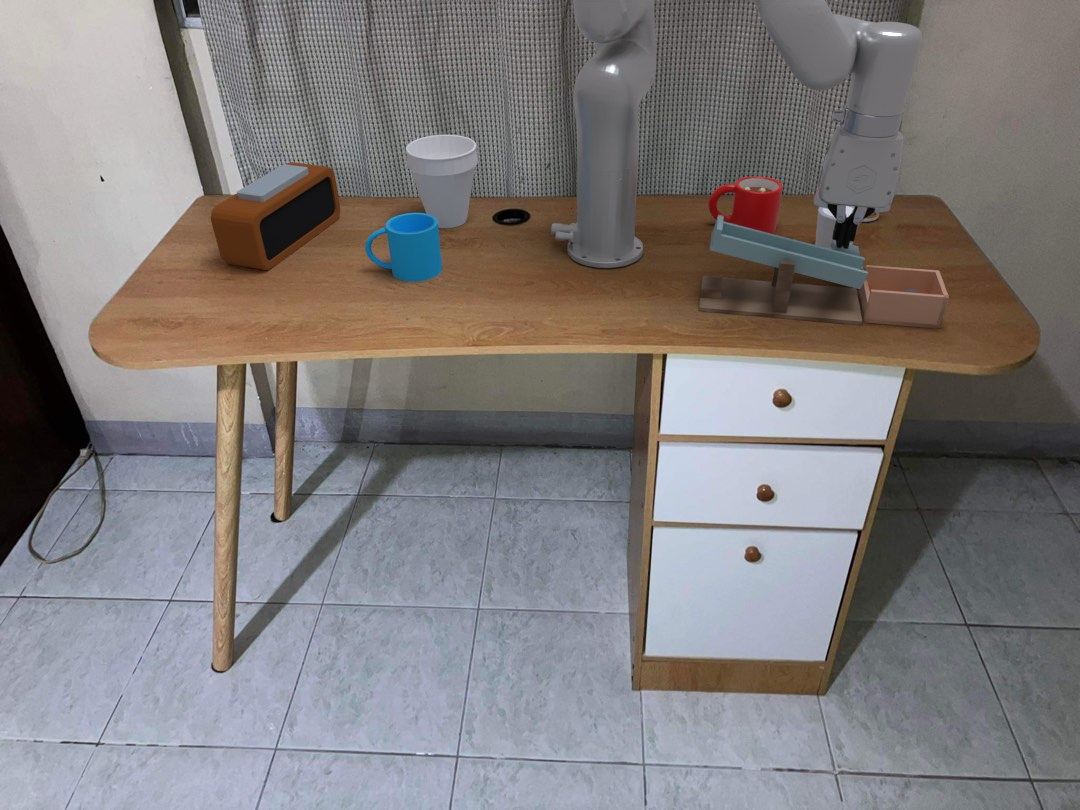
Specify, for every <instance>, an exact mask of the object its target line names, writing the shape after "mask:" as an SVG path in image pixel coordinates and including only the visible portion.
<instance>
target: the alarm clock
mask: <svg viewBox="0 0 1080 810" xmlns="http://www.w3.org/2000/svg"><path fill="white" fill-rule="evenodd" d="M337 187H338V186H337V181H336V175H335V172H334V170H333V168H331V167H330V166H324V165H319V164H318V165H317V164H308V163H301V162H293V161H290V162H288V163H285V164H281V165H280V166H278V167H275V169H273V170H271V171H270V172H268V173H266V174H265V175H263V176H260V177H259V178H257V179H256V180H254V181H253V182H251V183H249V184H247V185H246V186H244V187H242V188H241V189H239V190H237V191H236V193H235V194H234V195H231V196H230V197H228V198H227V199H225V200H223V201H222V202H219V203H218V204H216V205H215V206H214V207H213V209H212V210H211V213H210V214H211V215H210V221H211V226H212V229H213V233H214V236H215V237H214V238H215V242H216V243H217V245H216V246H217V249H218V252H219V256H220V258H221V260H222V261H223V262H224V263H226V264H229V265H233V266H239V267H245V268H251V269H255V270H256V269H257V270H263V271H270V270H272V269H274V268H275V267H276V266H277V265H279V264H281V263H282V262H283V261H285V260H286V259H287V258H288V257H290V256H291V255H292V254H294V253H295V252H297V251H298V250H299V249H301V248H302V247H304V246H305V245H306V244H308V243H309V242H310V241H311V240H314V238H316V237H317V236H319V235H320V234H321V233H322V232H324V231H325V230H327V228H329V227H330V226H332V225H333V224H335V223H336V222H337V221H338V220H339V218H340V216H341V205H340V199H339V191H338V188H337Z"/></svg>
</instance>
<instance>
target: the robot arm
mask: <svg viewBox="0 0 1080 810" xmlns="http://www.w3.org/2000/svg"><path fill="white" fill-rule="evenodd" d="M752 1H753V3H754V5H755V8H756V10H757V12H758V14H759V16H760V18H761V20H762V23H763V24H764V26H765V29H766V31H767V32H768V34H769V36H770V39H771V40H772V42H773V43H774V46H775V47H776V49H777V51H778V52H779V54H780V55H781V56H782V59H783V60H784V62H785V63H786V65H787V67H788V69H789V70H790V72H791V73H792V74H793V76H794V77H795V78H796V79H797V81H798V82H799V83H801V85H803V86H804V87H806V88H808V89H810V90H813V91H828V90H831V89H833V88H836V87H837V86H839V85H840V84H842V83H843V82H844V81H845V80H846V79H847V77H848V76H849V75H850V76H851V80H850V84H849V88H848V94H847V98H846V103H845V104H844V107H842V109H839V110H833V112H832V114H831V115H832V116H831V121H833V122H837V123H839V125H838V126H837V127H836V128H835V130H834V132H833V135H832V136H831V138H830V141H829V144H828V146H827V149H826V150H827V151H826V153H825V155H824V160H823V164H822V167H821V171H820V175H819V178H818V183H817V184H818V185H817V187H818V189H817V190H816V192H815V194H814V197H813V204H814V205H815V206H816V207H818V208H819V207H822V208H827V209H829V211H830V212H831V213H832V214H833V216H834V217H835V218H836V222H835V227H834V231H833V236H832V239H833V240H836V246H837V248H841V247H842V246H843V248H844V249H848V247H849V243H850V241H851V242H853V243H854V242H855V239H856V235H857V232H858V229H857V227H858V228H859V226H858V224H859V225H861V224H862V223H863V222H862V220H863V219H865V218H867V217H868V216H870V215H871V214H873V213H875V212H876V213H878V212H880V213H887V212H889V211H890V210H891V208H892V207H891V205H892V202H893V201H894V198H895V193H896V189H897V184H898V179H899V175H900V169H901V168H900V167H901V165H902V157H903V149H904V135H903V134H902V132H900V127H901V123H902V121H903V120H902V119H903V115H904V113H905V109H906V104H907V101H908V97H909V92H910V88H911V85H912V81H913V78H914V77H913V76H914V74H915V71H916V70H915V69H916V66H917V62H918V58H919V54H920V51H921V48H922V47H921V46H922V43H923V35H922V31H921V30H920V29H919V27H917V26H915V25H912V24H909V23H904V22H899V21H878V22H875V21H869V20H865V19H864V20H863V19H860V18H855V17H851V16H849V15H848V16H847V15H843V14H837V13H834V14H833V12H832V10H831V8H830V6H829V5H828V3H827V2H826V0H752ZM572 2H573V16H574V20H575V24H576V27H577V28H578V31H579V32H580V33H581V34H582V36H583V37H584V38H585V39H587V40H588V41H590V42H592V43H594V44H595V52H596V53H595V54H594V55H593V56H592V57H591V58H590V59H588V60H587V61H586V63H585V64H583V67H582V68H581V69H580V71H579V73H578V74H577V77H576V79H575V82H574V87H573V108H574V117H575V123H576V125H575V126H576V161H577V163H576V164H577V168H576V169H577V172H576V173H577V175H576V178H577V180H576V181H577V182H576V183H577V188H576V189H577V190H576V193H577V195H576V196H577V197H576V222H571V223H570V224H563V223H558V222H557V223H555V222H553V223H552V224H551V230H550V231H551V236H552V235H553V236H555V240H556V241H568V243H567V254H568V255H569V257H570V259H572V260H573V261H574V262H576V263H578V264H579V265H583V266H586V267H592V268H599V269H614V268H621V267H625V266H629V265H631V264H633V263H636V262H637V261H638V260H640V259H641V258H642V256H643V254H644V245H643V242H642V241H641V239H639V238H638V237H637V236H635V226H636V210H637V209H636V208H637V192H638V176H639V175H638V173H639V172H638V171H639V149H640V144H639V143H640V135H639V134H640V133H639V130H640V129H639V120H638V119H639V118H638V117H639V112H638V111H639V105H640V102H641V101H642V100H643V99H644V97H645V96H646V95H647V93H648V92H649V91H650V89H651V87H652V85H653V84H654V80H655V78H656V72H657V52H656V51H657V47H656V21H655V0H572ZM846 206H854V209H853V211H852V213H851V214H850V216H848V217H846ZM856 231H857V232H856Z"/></svg>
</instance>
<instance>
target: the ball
mask: <svg viewBox="0 0 1080 810" xmlns="http://www.w3.org/2000/svg"><path fill="white" fill-rule="evenodd" d="M903 292H910V293H919V292H918V291H916V290H914V289H906V290H904V291H903Z"/></svg>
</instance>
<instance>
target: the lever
mask: <svg viewBox="0 0 1080 810" xmlns="http://www.w3.org/2000/svg"><path fill="white" fill-rule="evenodd" d="M723 218H724V216H721V215H718V217H717V220H716V219H715V223H714V227H713V230H712V233H711V236H710V245H709V251H711V252H714V253H719V254H722V255H726V256H730V257H735V258H738V259H742V260H746V261H750V262H753V263H758V264H761V265H765V266H769V267H771V268H772V267H773V268H774V267H776V268H779V265H780V260H782V261H795V268H794V273H797V274H800V275H803V276H807V277H811V278H814V279H819V280H824V281H827V282H829V283H830V282H831V283H835V284H838V285H842V286H846V287H848V288H856V290H857V289H858V290H860V289H861V287H862V285H863V283H864V281H865V279H866V277H867V275H868V272H867V271H864V266H863V264H864V262H865V260H866V259H865V257H863V256H861V253H860V252H861V251H860V248H859V245H855V244H852V245H851V244H849V247H848V249H844V248H843V246H842V247H841V248H837V246H836V240H832V243H831V249H829V248H825V247H821V246H817V245H815V244H812V243H809V242H804V241H800V240H796V239H794V238H793V239H790V238H786V237H787V236H781V235H777V234H774V233H773V234H770V233H766V232H762V231H759V230H755V229H751V228H747V227H743V226H739V225H735V224H731V223H727V222H724V221H723Z"/></svg>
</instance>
